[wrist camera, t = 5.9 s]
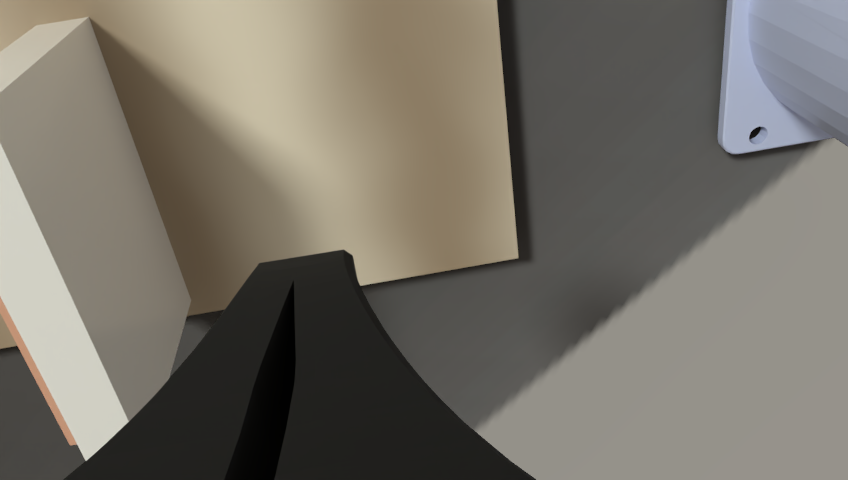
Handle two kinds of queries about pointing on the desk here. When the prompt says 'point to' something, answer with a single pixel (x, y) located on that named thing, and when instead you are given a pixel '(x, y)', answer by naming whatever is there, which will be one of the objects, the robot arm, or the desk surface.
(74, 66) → the tile
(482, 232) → the board
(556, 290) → the desk surface
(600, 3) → the desk surface
